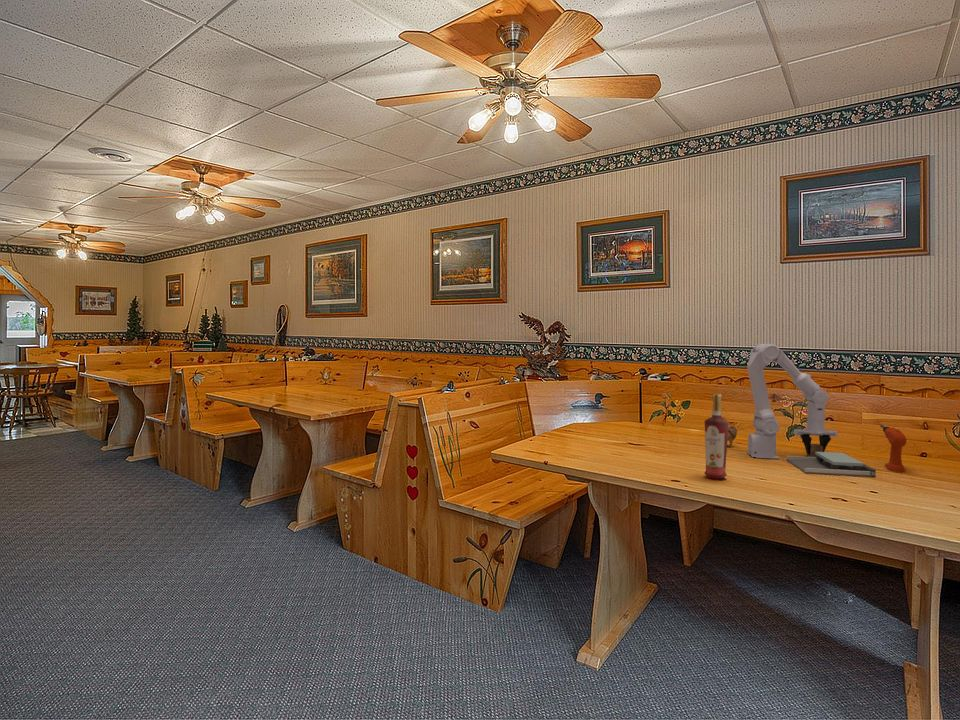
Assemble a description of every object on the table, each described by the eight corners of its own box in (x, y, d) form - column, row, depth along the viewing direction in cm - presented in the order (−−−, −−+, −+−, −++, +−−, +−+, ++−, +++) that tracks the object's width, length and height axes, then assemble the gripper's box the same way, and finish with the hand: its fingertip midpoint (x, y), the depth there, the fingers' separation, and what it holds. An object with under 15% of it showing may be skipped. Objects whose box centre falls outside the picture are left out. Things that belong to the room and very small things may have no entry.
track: (805, 473, 180) (805, 466, 180) (786, 460, 198) (786, 454, 198) (875, 477, 175) (875, 469, 175) (849, 463, 193) (850, 456, 193)
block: (810, 458, 201) (811, 445, 201) (807, 456, 205) (807, 443, 205) (822, 459, 200) (822, 446, 200) (818, 456, 204) (818, 444, 204)
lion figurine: (730, 444, 227) (730, 424, 226) (740, 447, 222) (740, 426, 221) (704, 447, 221) (704, 426, 221) (713, 450, 216) (714, 428, 216)
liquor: (730, 477, 175) (732, 394, 173) (722, 482, 170) (724, 396, 168) (708, 473, 180) (710, 392, 179) (699, 477, 175) (701, 394, 173)
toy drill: (886, 456, 198) (889, 418, 195) (907, 475, 181) (911, 433, 178) (870, 455, 200) (874, 417, 197) (890, 474, 182) (894, 432, 180)
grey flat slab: (833, 471, 179) (833, 461, 179) (814, 460, 195) (815, 451, 194) (863, 473, 177) (863, 463, 177) (842, 461, 192) (842, 452, 192)
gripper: (798, 420, 200) (797, 455, 200) (841, 421, 196) (840, 457, 197) (792, 417, 207) (791, 451, 207) (833, 418, 203) (832, 453, 204)
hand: (814, 454), depth 203 cm, fingers closed on block, 4 cm apart
